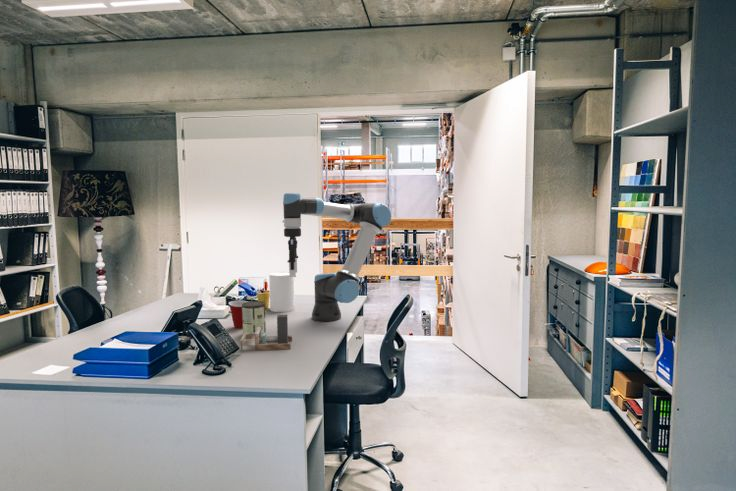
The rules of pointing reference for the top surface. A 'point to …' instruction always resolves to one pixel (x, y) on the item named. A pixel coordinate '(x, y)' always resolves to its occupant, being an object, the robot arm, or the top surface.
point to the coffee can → (253, 316)
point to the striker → (279, 331)
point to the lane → (253, 344)
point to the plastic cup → (237, 313)
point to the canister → (281, 292)
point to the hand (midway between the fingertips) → (293, 274)
